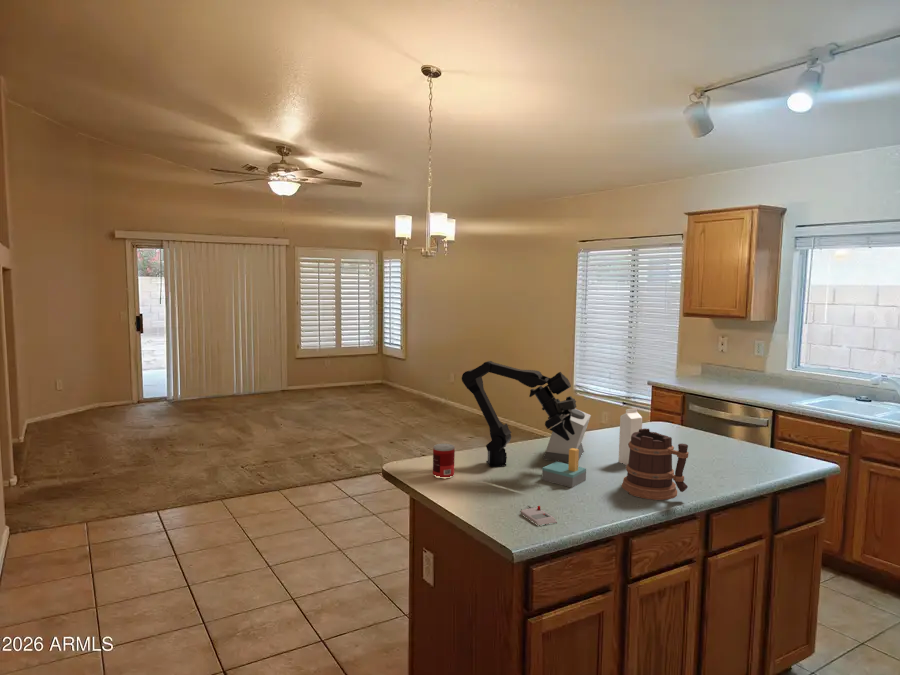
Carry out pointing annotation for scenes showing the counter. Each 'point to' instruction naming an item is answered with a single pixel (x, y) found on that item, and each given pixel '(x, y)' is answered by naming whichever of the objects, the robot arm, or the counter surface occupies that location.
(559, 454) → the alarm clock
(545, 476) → the tub
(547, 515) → the electrical control box
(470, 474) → the counter surface
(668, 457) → the mug
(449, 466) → the canned food
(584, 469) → the lid
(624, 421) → the milk
